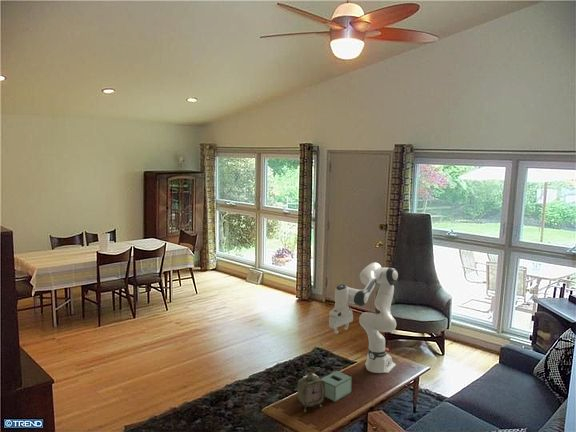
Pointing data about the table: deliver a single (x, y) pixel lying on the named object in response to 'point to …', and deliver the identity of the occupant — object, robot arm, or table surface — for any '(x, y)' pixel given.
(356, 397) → the table surface
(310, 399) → the tabletop clock
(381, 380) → the table surface
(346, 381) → the coin box
